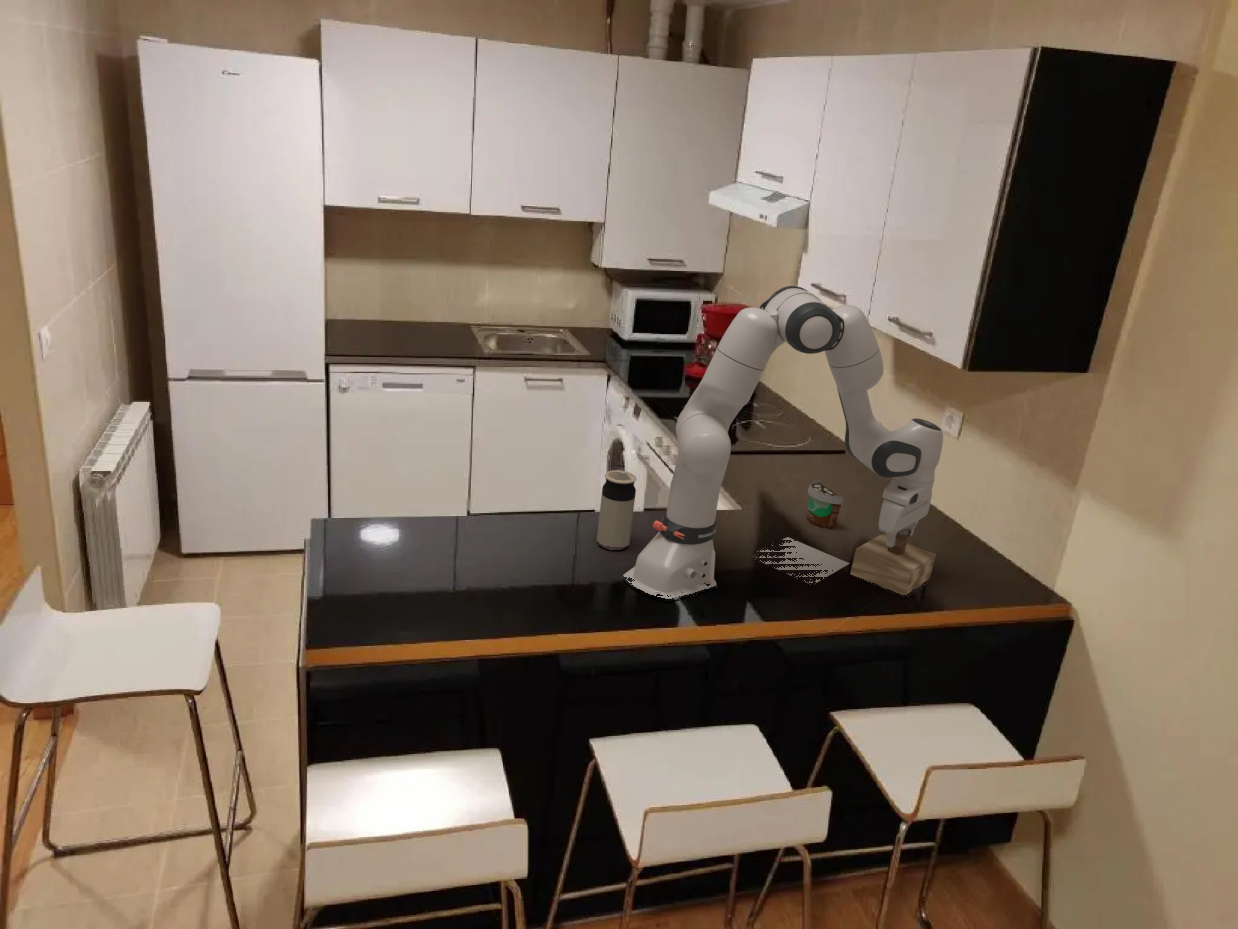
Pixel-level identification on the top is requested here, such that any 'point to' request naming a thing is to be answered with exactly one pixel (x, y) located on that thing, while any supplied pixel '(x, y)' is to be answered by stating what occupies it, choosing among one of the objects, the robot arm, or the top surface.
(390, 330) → the top surface
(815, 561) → the white paper sheet
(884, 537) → the tan block
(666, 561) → the robot arm
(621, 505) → the travel mug
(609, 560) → the top surface
